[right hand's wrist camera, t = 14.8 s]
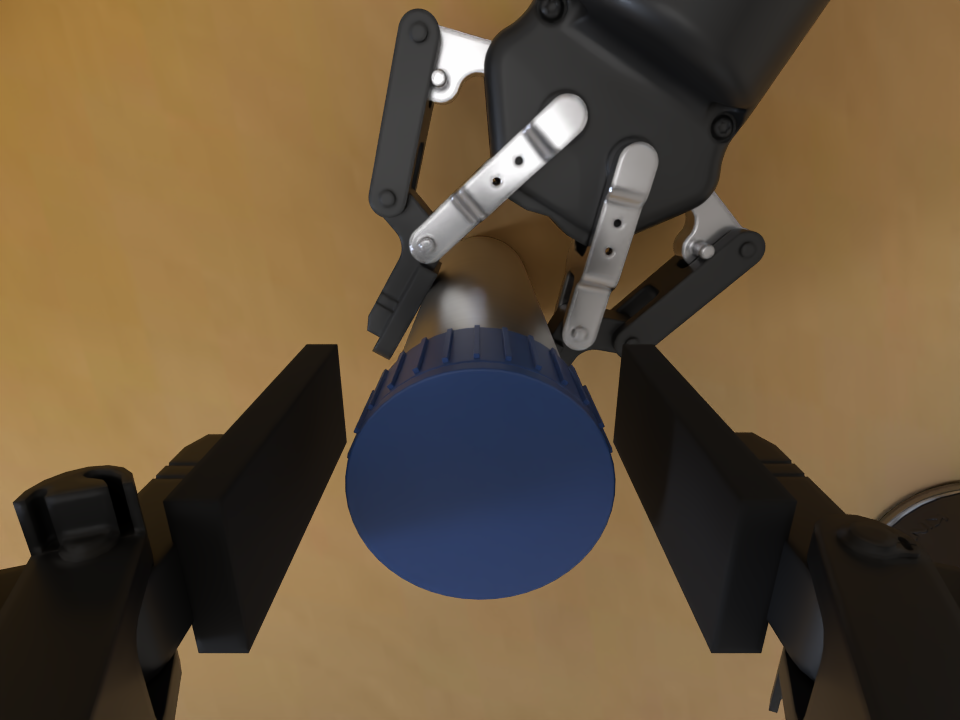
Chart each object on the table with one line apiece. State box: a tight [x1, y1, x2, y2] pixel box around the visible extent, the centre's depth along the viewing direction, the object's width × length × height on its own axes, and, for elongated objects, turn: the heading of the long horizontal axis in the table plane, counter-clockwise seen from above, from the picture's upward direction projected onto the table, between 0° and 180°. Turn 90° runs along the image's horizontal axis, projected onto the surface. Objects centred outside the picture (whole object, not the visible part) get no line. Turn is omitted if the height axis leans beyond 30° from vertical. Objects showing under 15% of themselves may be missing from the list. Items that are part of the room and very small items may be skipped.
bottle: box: [403, 236, 560, 357], centre depth 18 cm, size 4×4×17 cm
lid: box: [345, 325, 615, 600], centre depth 11 cm, size 5×5×2 cm
